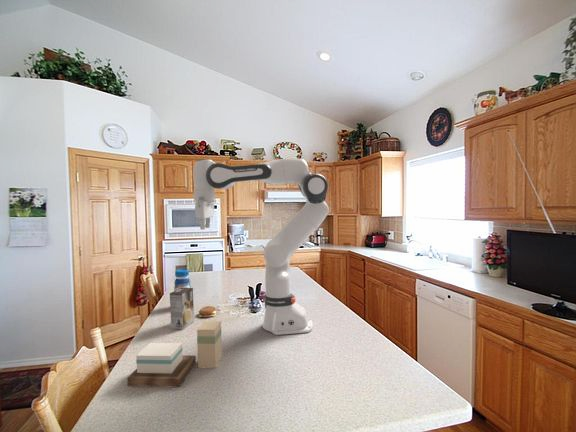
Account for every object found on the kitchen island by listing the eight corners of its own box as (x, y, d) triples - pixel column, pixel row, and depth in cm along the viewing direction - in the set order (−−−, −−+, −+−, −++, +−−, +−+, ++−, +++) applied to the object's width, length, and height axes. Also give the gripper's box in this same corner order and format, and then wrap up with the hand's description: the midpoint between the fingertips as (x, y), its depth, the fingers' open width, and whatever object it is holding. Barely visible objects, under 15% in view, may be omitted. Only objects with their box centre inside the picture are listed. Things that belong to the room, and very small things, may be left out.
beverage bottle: (193, 304, 156) (192, 268, 155) (187, 309, 147) (185, 272, 147) (179, 303, 157) (178, 268, 156) (171, 309, 148) (170, 271, 148)
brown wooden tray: (195, 362, 97) (195, 355, 97) (179, 386, 84) (178, 378, 84) (150, 361, 98) (150, 354, 98) (127, 385, 85) (127, 377, 85)
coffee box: (182, 320, 134) (181, 287, 133) (194, 321, 132) (193, 287, 132) (170, 328, 125) (169, 293, 124) (183, 329, 123) (182, 293, 123)
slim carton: (222, 356, 101) (221, 321, 100) (215, 368, 94) (214, 329, 93) (205, 356, 101) (204, 320, 101) (197, 367, 94) (196, 329, 94)
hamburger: (223, 318, 136) (223, 306, 136) (193, 321, 134) (193, 308, 134) (225, 308, 150) (225, 297, 150) (198, 310, 148) (197, 298, 148)
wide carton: (182, 359, 95) (182, 343, 95) (171, 373, 87) (170, 356, 86) (150, 358, 95) (150, 342, 95) (136, 372, 87) (136, 355, 87)
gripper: (206, 196, 113) (207, 230, 113) (216, 197, 133) (216, 226, 134) (190, 196, 112) (191, 230, 113) (202, 197, 133) (203, 227, 133)
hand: (205, 228), depth 123 cm, fingers open, 8 cm apart
